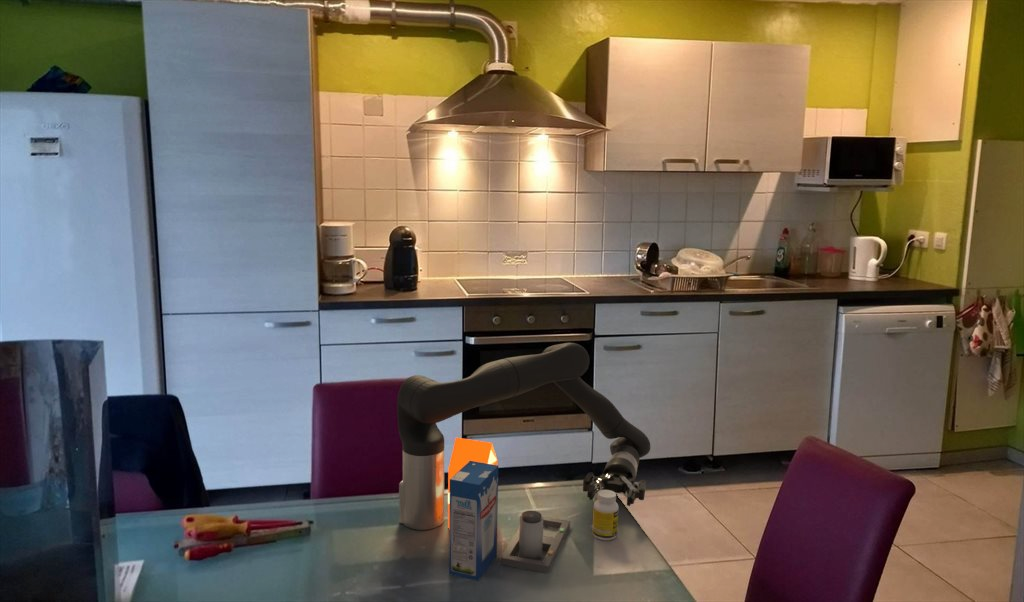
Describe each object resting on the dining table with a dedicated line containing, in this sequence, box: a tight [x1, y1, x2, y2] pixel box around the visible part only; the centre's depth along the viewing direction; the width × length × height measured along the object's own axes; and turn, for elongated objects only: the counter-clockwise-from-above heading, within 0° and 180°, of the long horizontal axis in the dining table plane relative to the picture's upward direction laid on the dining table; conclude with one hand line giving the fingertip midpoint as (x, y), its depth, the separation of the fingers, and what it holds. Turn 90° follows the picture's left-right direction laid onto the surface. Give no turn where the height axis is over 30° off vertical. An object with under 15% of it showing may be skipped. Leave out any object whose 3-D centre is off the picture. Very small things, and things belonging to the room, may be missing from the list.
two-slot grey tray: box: [499, 515, 571, 574], centre depth 159 cm, size 10×20×2 cm, turn 163°
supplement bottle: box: [591, 490, 620, 541], centre depth 163 cm, size 5×5×10 cm
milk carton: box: [448, 461, 499, 582], centre depth 149 cm, size 10×6×20 cm, turn 160°
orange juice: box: [447, 437, 498, 529], centre depth 166 cm, size 8×9×20 cm
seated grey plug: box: [518, 510, 544, 561], centre depth 154 cm, size 5×5×9 cm
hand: (609, 499), depth 168 cm, fingers open, 8 cm apart
